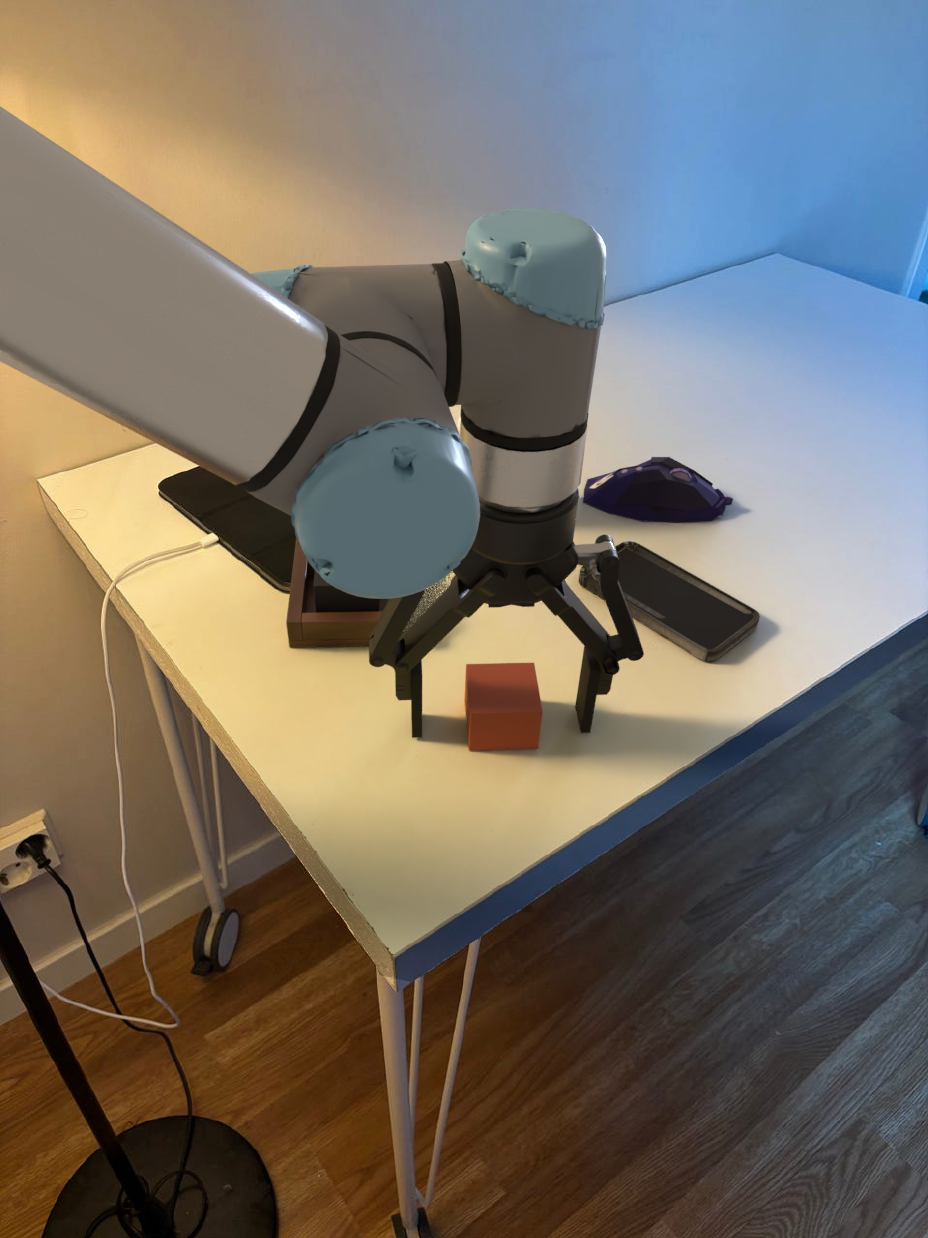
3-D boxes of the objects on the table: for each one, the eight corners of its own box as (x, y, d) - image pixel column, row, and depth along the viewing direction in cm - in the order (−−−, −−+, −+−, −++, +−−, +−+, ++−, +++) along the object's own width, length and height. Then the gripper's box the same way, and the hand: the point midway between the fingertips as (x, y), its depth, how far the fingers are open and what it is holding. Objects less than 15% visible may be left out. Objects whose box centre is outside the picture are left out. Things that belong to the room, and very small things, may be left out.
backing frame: (289, 647, 79) (286, 622, 77) (302, 525, 92) (300, 500, 90) (403, 645, 79) (402, 620, 78) (400, 524, 93) (399, 499, 91)
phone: (629, 538, 90) (765, 614, 82) (627, 547, 91) (762, 624, 83) (573, 571, 86) (711, 656, 78) (572, 581, 86) (708, 666, 78)
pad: (468, 751, 71) (470, 713, 68) (464, 700, 75) (466, 663, 72) (538, 749, 71) (542, 711, 69) (530, 699, 75) (534, 662, 72)
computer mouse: (589, 464, 102) (593, 431, 100) (729, 483, 100) (738, 450, 98) (579, 512, 95) (584, 478, 93) (730, 533, 93) (739, 499, 91)
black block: (316, 623, 80) (313, 586, 77) (319, 584, 84) (316, 547, 81) (378, 622, 80) (377, 585, 78) (379, 583, 84) (377, 547, 82)
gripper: (696, 448, 62) (646, 683, 76) (323, 451, 61) (341, 691, 75) (728, 513, 57) (667, 754, 71) (317, 518, 55) (338, 764, 69)
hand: (500, 722), depth 73 cm, fingers open, 12 cm apart
